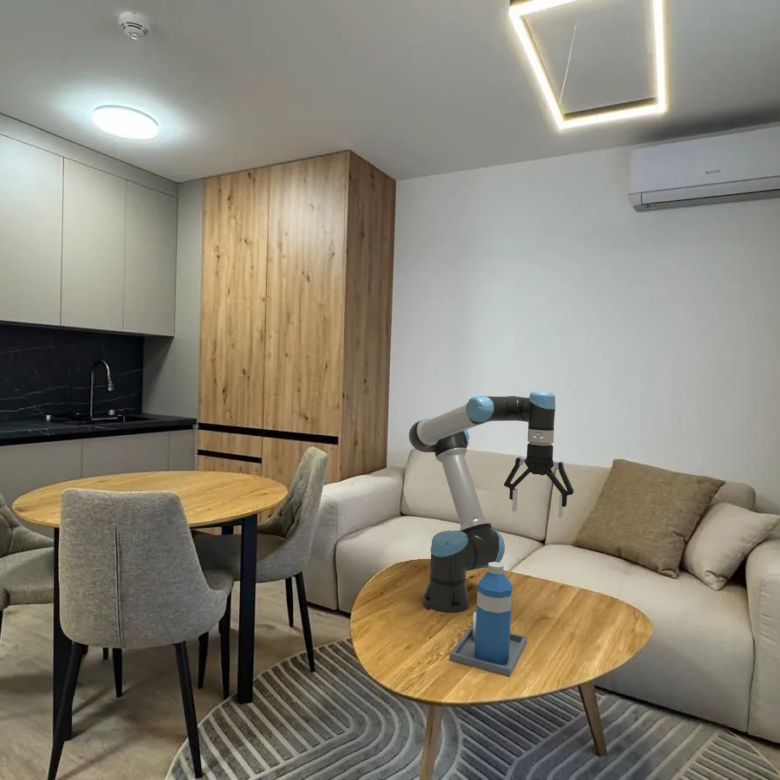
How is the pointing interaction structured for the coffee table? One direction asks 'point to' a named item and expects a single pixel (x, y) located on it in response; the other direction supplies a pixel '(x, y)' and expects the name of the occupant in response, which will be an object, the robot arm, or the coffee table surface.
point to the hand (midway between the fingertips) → (536, 514)
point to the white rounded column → (474, 626)
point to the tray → (466, 656)
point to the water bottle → (493, 616)
